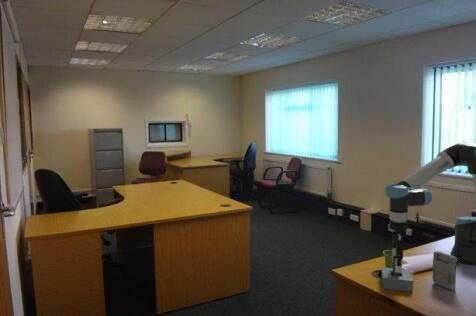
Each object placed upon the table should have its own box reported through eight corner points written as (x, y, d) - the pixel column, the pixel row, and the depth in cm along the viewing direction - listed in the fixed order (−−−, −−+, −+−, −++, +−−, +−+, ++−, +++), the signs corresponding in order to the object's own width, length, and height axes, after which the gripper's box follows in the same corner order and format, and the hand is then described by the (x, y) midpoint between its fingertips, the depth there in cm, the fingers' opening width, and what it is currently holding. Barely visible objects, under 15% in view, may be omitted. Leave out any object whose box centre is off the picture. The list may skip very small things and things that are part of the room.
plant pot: (393, 265, 189) (393, 249, 188) (407, 272, 180) (407, 255, 179) (378, 267, 186) (378, 251, 185) (391, 275, 177) (392, 257, 176)
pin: (399, 281, 167) (400, 255, 166) (400, 284, 164) (401, 258, 163) (392, 280, 168) (392, 255, 167) (392, 283, 165) (393, 257, 164)
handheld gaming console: (456, 289, 161) (457, 256, 159) (451, 291, 159) (452, 258, 158) (436, 281, 169) (437, 250, 167) (431, 283, 167) (432, 251, 166)
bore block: (408, 280, 170) (409, 270, 170) (412, 291, 159) (413, 280, 159) (381, 277, 174) (381, 267, 174) (383, 288, 163) (383, 277, 162)
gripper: (386, 213, 176) (385, 256, 178) (391, 227, 153) (390, 276, 155) (403, 214, 174) (402, 258, 176) (411, 228, 151) (409, 278, 153)
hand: (396, 266), depth 166 cm, fingers open, 12 cm apart
